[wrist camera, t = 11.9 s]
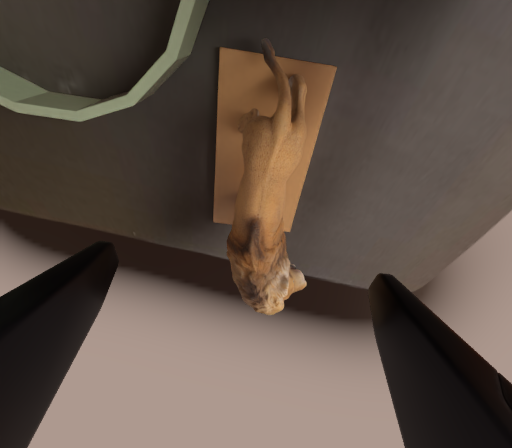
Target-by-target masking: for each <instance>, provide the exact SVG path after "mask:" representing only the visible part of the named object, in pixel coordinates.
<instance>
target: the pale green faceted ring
mask: <svg viewBox="0 0 512 448" xmlns="http://www.w3.org/2000/svg"><path fill="white" fill-rule="evenodd" d="M208 2H209V0H181V1H180V4H179V7H178V11H177V14H176V18H175V21H174V25H173V28H172V31H171V35H170V38H169V42H168V45H167V49H166V51H165V52H164V53H163V54H162V55H161V57H160V58H159V59H158V60H157V61H156V62H155V63H154V64H153V66H152V67H151V68H150V69H149V70H148V71H147V72H146V73H145V75H144V76H143V77H142V78H141V79H140V80H139V81H138V82H137V83H136V85H135V86H134V87H133V88H132V89H131V90H130V91H127V92H124V93H120V94H117V95H114V96H111V97H108V98H105V99H94V98H88V97H81V96H75V95H68V94H61V93H55V92H49V91H47V90H45V89H43V88H41V87H39V86H37V85H35V84H33V83H31V82H30V81H28V80H26V79H24V78H22V77H20V76H18V75H16V74H14V73H12V72H10V71H8V70H6V69H4V68H2V67H0V105H2V106H4V107H6V108H8V109H10V110H12V111H15V112H17V113H24V114H30V115H37V116H44V117H51V118H57V119H64V120H71V121H78V122H82V121H85V120H89V119H92V118H95V117H98V116H102V115H105V114H108V113H112V112H115V111H118V110H122V109H125V108H128V107H131V106H134V105H136V104H138V103H139V102H141V101H143V100H144V99H146V98H148V97H149V96H151V95H153V93H154V92H155V91H156V90H157V89H158V88H159V87H160V86H161V85H162V84H163V83H164V82H165V81H166V80H167V79H168V78H169V77H170V76H171V75H172V74H173V73H174V71H175V70H176V69H177V68H178V67H179V66H180V65H181V64H182V63H183V62H184V61H185V60H186V59H187V58H188V57H189V56H190V54H191V51H192V48H193V45H194V43H195V40H196V37H197V34H198V31H199V28H200V25H201V22H202V19H203V17H204V14H205V11H206V8H207V5H208Z"/></svg>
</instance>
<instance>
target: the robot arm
mask: <svg viewBox="0 0 512 448" xmlns="http://www.w3.org/2000/svg"><path fill="white" fill-rule="evenodd" d="M118 262H119V261H118V256H117V253H116V250H115V247H114V245H113V243H111V242H105V241H98V242H96V243H94V244H92V245H91V246H89V247H87V248H85V249H84V250H82V251H80V252H78V253H77V254H75V255H73V256H71V257H69V258H68V259H66V260H64V261H63V262H61V263H59V264H57V265H55V266H54V267H52V268H50V269H48V270H47V271H45V272H43V273H42V274H40V275H38V276H36V277H35V278H33V279H31V280H29V281H27V282H26V283H24V284H22V285H20V286H19V287H17V288H15V289H13V290H11V291H10V292H8V293H6V294H4V295H3V296H1V297H0V448H27V447H28V445H29V444H30V441H31V440H32V438H33V436H34V434H35V432H36V430H37V428H38V427H39V425H40V423H41V421H42V419H43V417H44V415H45V413H46V411H47V409H48V408H49V406H50V404H51V402H52V400H53V398H54V396H55V394H56V393H57V391H58V389H59V387H60V385H61V383H62V381H63V379H64V377H65V376H66V374H67V372H68V370H69V368H70V366H71V364H72V362H73V360H74V358H75V357H76V355H77V353H78V351H79V349H80V347H81V345H82V343H83V341H84V340H85V338H86V336H87V333H88V332H89V330H90V328H91V326H92V324H93V323H94V321H95V319H96V317H97V315H98V313H99V311H100V309H101V307H102V305H103V302H104V300H105V297H106V295H107V292H108V289H109V287H110V285H111V282H112V280H113V277H114V274H115V272H116V269H117V267H118ZM368 296H369V302H370V308H371V315H372V321H373V328H374V333H375V338H376V342H377V346H378V349H379V353H380V357H381V361H382V364H383V368H384V371H385V375H386V379H387V383H388V387H389V390H390V394H391V398H392V401H393V405H394V409H395V413H396V416H397V420H398V424H399V427H400V431H401V435H402V438H403V442H404V446H405V448H512V384H511V383H510V382H509V381H508V380H507V379H506V378H505V377H503V376H502V375H501V374H500V373H497V370H496V369H495V368H494V367H492V366H491V365H490V364H489V363H488V362H487V361H486V360H484V358H483V357H481V356H480V355H479V354H478V353H477V352H476V351H475V350H474V349H473V348H471V346H469V345H468V344H467V343H466V342H465V341H464V340H463V339H462V338H461V337H460V336H458V335H457V334H456V333H455V332H454V331H453V330H452V329H451V328H450V327H448V325H446V324H445V323H444V322H443V321H442V320H441V319H440V318H439V317H438V316H437V315H435V314H434V313H433V312H432V311H431V310H430V309H429V308H428V307H427V306H426V305H425V304H423V303H422V302H421V301H420V300H419V299H418V298H417V297H416V296H415V295H414V294H412V293H411V292H410V291H409V290H408V289H407V288H406V287H405V286H404V285H403V284H402V283H400V282H399V281H398V280H397V279H396V278H395V277H394V276H392V275H390V274H383V273H380V274H378V275H377V276H376V278H375V279H374V281H373V282H372V284H371V285H370V287H369V290H368Z"/></svg>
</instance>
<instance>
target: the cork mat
mask: <svg viewBox="0 0 512 448" xmlns="http://www.w3.org/2000/svg"><path fill="white" fill-rule="evenodd" d="M275 58H276V60H277V62H278V64H279V65H280V67H281V68H282V70H283V71H284V73H285V74H286V76H287V79H288V81H289V79H290V77H291V76H292V75H294V74H298V75H301V76H303V78H304V80H305V84H306V87H307V93H306V96H305V106H304V119H305V125H306V131H307V133H306V138H305V141H304V146H303V151H302V156H301V160H300V162H299V164H298V166H297V167H296V168H295V170H294V171H293V173H292V174H291V175H290V177H289V178H288V180H287V181H286V196H285V208H284V212H283V221H284V230H283V231H286V232H290V229H291V225H292V222H293V218H294V215H295V211H296V208H297V204H298V201H299V198H300V194H301V191H302V187H303V184H304V180H305V177H306V173H307V170H308V166H309V163H310V159H311V156H312V153H313V149H314V146H315V142H316V139H317V135H318V132H319V128H320V125H321V121H322V118H323V114H324V111H325V107H326V104H327V101H328V97H329V94H330V90H331V87H332V83H333V80H334V76H335V73H336V69H337V67H336V66H332V65H326V64H320V63H314V62H308V61H302V60H296V59H291V58H285V57H279V56H275ZM278 98H279V91H278V85H277V81H276V78H275V76H274V75H273V73H272V71H271V70H270V68H269V67H268V65H267V64H266V63H265V61H264V56H263V54H261V53H255V52H249V51H243V50H237V49H231V48H225V47H220V52H219V79H218V105H217V132H216V159H215V185H214V212H213V222H216V223H224V224H232V223H233V220H234V214H235V202H236V198H237V194H238V191H239V187H240V182H241V179H242V177H243V174H244V160H243V154H242V143H243V135H242V133H241V132H239V130H238V127H237V123H238V121H239V119H240V118H241V117H242V116H243V115H244V114H246V113H248V112H249V111H250V110H251V109H253V108H256V109H258V111H259V116H267V117H270V118H271V117H272V116H273V114H274V113H275V112H276V110H277V105H278ZM291 109H292V98H291Z"/></svg>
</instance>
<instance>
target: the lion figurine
mask: <svg viewBox="0 0 512 448" xmlns="http://www.w3.org/2000/svg"><path fill="white" fill-rule="evenodd" d="M261 45H262V50H263V56H264V61H265V63H266V64H267V65H268V67H269V68H270V70H271V71H272V73H273V75H274V76H275V78H276V81H277V85H278V91H279V98H278V105H277V110H276V112H275V113H274V114H273V116H272V117H271V118H270V117H267V116H259V111H258V109H256V108H253V109H251V110H250V111H249V112H248V113H246V114H244V115H243V116H242V117H241V118H240V119H239V121H238V123H237V127H238V130H239V132H241V133H242V135H243V143H242V154H243V160H244V174H243V177H242V179H241V182H240V187H239V191H238V194H237V198H236V202H235V214H234V220H233V223H232V230H231V232H230V234H229V236H228V239H227V250H228V251H227V256H228V258H229V260H230V262H231V270H232V272H233V275H232V277H233V280H234V282H235V283H236V284H237V287H238V288H239V292H240V293H241V295H242V298H243V301H244V302H245V303H246V304H248V305H249V306H251V307H252V308H254V310H255V311H256V312H260V313H264V314H267V315H273V314H275V313H276V312H279V311H281V310H282V309H283V308H284V300H286V299H287V298H289V296H290V295H291V294H292V293H294V292H296V291H298V290H301V289H303V288H304V287H305V286H306V281H305V280H304V275H303V274H302V272H301V271H300V270H298V269H296V267H295V266H294V265H293V264H290V261H289V259H288V254H287V252H286V237H285V234H284V231H283V230H284V221H283V212H284V208H285V196H286V181H287V180H288V178H289V177H290V175H291V174H292V173H293V171H294V170H295V168H296V167H297V166H298V164H299V162H300V160H301V156H302V151H303V146H304V141H305V138H306V133H307V131H306V125H305V119H304V106H305V96H306V93H307V87H306V84H305V80H304V78H303V76H301V75H298V74H294V75H292V76H291V77H290V79H289V81H288V79H287V76H286V74H285V73H284V71H283V70H282V68H281V67H280V65H279V64H278V62H277V60H276V58H275V50H274V49H273V47H272V44H271V42H270V41H269V40H268V39H267V38H264V39H262V41H261ZM291 98H292V109H291Z"/></svg>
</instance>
